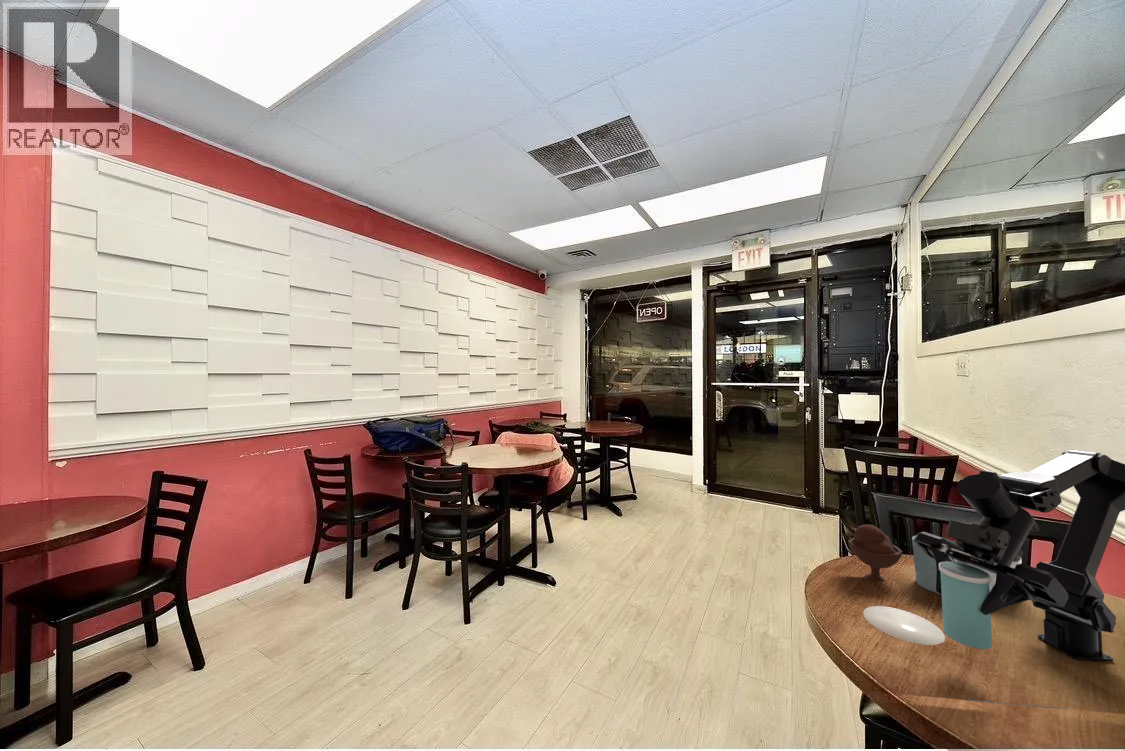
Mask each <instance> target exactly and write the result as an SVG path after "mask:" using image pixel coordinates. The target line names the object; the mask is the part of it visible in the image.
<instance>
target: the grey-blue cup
mask: <svg viewBox="0 0 1125 751" xmlns="http://www.w3.org/2000/svg"><path fill="white" fill-rule="evenodd" d="M915 537H916V535H913V536H912V537H911V541H912V542H911V543H912V549H913V565H914V570H915V573H916V575H915V582H916V584H917V585H918V586H920V587H922V588H924V589H926V590H927V591H930V592H932V593H936V594H938V593H937V592H936V575H937V567H936V560H935V559H932V558H931V557H929V556H927V555H926V553H925V552H924V551H923V550H922V549H921V548H920V547H919V546H918V545H917V544H916V543H915V541H914V539H915ZM944 539H945V540H946V541H947V542H948V543H949V545H950V546H951V547H952V548H955V549H958V550H961V551H963V548H962V547H959V546H958V545H957V543H956V541H954V540H951V539H948V538H944ZM957 563H962V564H966V565H968V564H967V563H964V562H961V561H959V560H958V561H957Z"/></svg>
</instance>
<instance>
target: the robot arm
mask: <svg viewBox="0 0 1125 751" xmlns="http://www.w3.org/2000/svg"><path fill="white" fill-rule="evenodd" d="M956 488H957V491H958V493H960V495H961V496H962V498H964V500H966V502H967V503H968V504H969V505H970V506H971V508H972V509H973V510H974V511H975V512H976V514H977V513H978V515H979V516H982V518H981V519H980V521H979V523H978V524H976V523H972V524H968V523H965V522H962V521H958V520H954V519H949V522H948V526H947V530H946V532H945V533H946V534H945V537H948V538H952V539H955V540H956V541H955V542H956V543H957V545H958V546H959V547H962V548H963V551H961V550H958V549H955V548H952V547H951V546H950V545H949V543H948V542H947V541H946V540H945V539H946V538H944V537H941V536H939V535H935V534H932V533H929V532H927V531H921V532H918V533H917V534H916V535H915V536H916V537H915V539H914V541H915V543H916V544H917V545H918V546H919V547H920V548H921V549H922V550H923V551H924V552H925V553H926V555H927V556H929V557H931V558H932V559H935V560H936V567H937V575H936V592H937V593H936V594H938V595H940V596H942V593H941V571H940V570H939V563H940V562H957V561H958V560H959V561H961V562H964V563H967V565H970V566H971V565H973V566H975V567H978V568H981V569H984V570H986V571H989V572H992V573H995V574H996V583H995V585H994V587H993V588H992V590H991V591H990V593H989V594H988V596H987V597H986V599H985V601H984V602H983V604H982V607H981V609H980V611H981V612H982V613H983V614H984V615H988V614H990V613H991V614H992V613H995V612H997V611H1000V610H1002V609H1004V608H1006V607H1010V606H1013V605H1015V604H1019V603H1024V602H1026V601H1027V602H1028V601H1030V602H1031V603H1032V605H1033V607H1034V608H1037V609H1038V608H1039V609H1041V610H1043V611H1044V618H1043V633H1037V637H1038V638H1039V639H1040V640H1042V641H1044V642H1045V643H1048V644H1049V645H1051V646H1052V647H1054V648H1056V649H1057V650H1059V651H1060V652H1061V653H1064V654H1066V655H1067V656H1068V657H1070V658H1072V659H1076V660H1087V661H1102V662H1114V658H1113V657H1111V656H1110V655H1108V654H1107V653H1105V652H1103V636H1102V632H1105V633H1106V632H1107V633H1111V634H1112V633H1114V631H1115V630H1114V629H1115V626H1116V625H1117V623H1116V620H1117V617H1116V615H1115V614H1114V613H1113V612H1112V610H1111V609H1110V608H1109V607H1108V606H1107V604H1106V603H1105V601H1104V599H1105V593H1104V591H1103V590H1102V587H1101V586H1100V584H1099V582H1098V581H1097V579H1096V576H1097V572H1098V570H1099V568H1100V564H1101V562H1102V560H1103V558H1104V554H1105V552H1106V549H1107V546H1108V544H1109V541H1110V538H1111V536H1112V534H1113V531H1114V527H1115V526H1116V523H1117V519H1118V517H1119V516H1120V513H1121V512H1123V511H1125V463H1122V462H1120V461H1117V460H1114V459H1112V458H1110V457H1109V456H1108V455H1106V454H1102V453H1100V452H1092V451H1083V450H1074V449H1070V450H1064V451H1062V453H1061V455H1060V456H1058V457H1056V458H1054V459H1052V460H1050V461H1048V462H1046V463H1045V464H1042V465H1040V466H1038V467H1037V468H1035V469H1034V468H1033V470H1030V471H1014V472H1012V471H1011V472H1008V473H1004V474H1001V475H1000V474H999V475H998V473H996V471H989V470H983V469H981V470H980V472H979V473H977V474H971V475H968V476H966V477H963V478H962V479H960V480H959V481H958V482H957V484H956ZM1070 488H1074V489H1075V491H1076V493H1077V494H1078V496H1079V498H1080V499H1079V501H1078V504H1077V505H1076V509H1075V511H1074V514H1073V517H1072V518H1071V522H1070V523H1069V526H1068V528H1067V532H1066V534H1065V536H1064V537H1063V541H1062V543H1061V546H1060V549H1059V551H1058V553H1057V556H1056V559H1055V560H1052V561H1051V562H1045V561H1039V562H1038V563H1037V564H1036V566H1035V567H1034V566H1031V565H1027V564H1025V563H1022V564H1017V565H1016V566H1015V568H1011V567H1010V566H1011V564H1012V562H1013V560H1014V559H1015V557H1016V556H1019V557H1021V558H1023V555H1024V554H1025V552H1024V550H1022V546H1023V545H1024V542H1025V540H1026V538H1027V537H1028V535H1029V534H1030V532H1031V531H1032V532H1036V533H1038V532H1039V531H1040V528H1039V527H1040V526H1039V525H1038V523H1037V522H1036V519H1035V518H1034V515H1032V514H1030V512H1029V511H1034V512H1038V513H1044V514H1048V513H1050V512H1052V511H1054V510H1055V509H1057V508H1058V507H1059V506H1060V504H1062V498H1061V494H1062V493H1063V492H1065V491H1068V490H1069V489H1070ZM1027 510H1029V511H1027Z"/></svg>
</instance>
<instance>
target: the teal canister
mask: <svg viewBox="0 0 1125 751" xmlns="http://www.w3.org/2000/svg"><path fill="white" fill-rule="evenodd" d="M939 570H940V571H941V593H942V595H941V610H942V630H943V631H942V632H943V633H944V635H946V636H947V637H948V638H950V639H951V640H953V641H954V642H957V643H959V644H961V645H964V646H966V647H969V648H972V649H979V650H990V649H991V648H992V647H993V635H992V616H991V614H992V613H990V614H988V615H984V614H983V613H982V612H981V611H980V609H981V607H982V604H983V602H984V601H985V599H986V597H987V596H988V594H989V593H990V591H989V583H990V582H991V577H990V575H989V574H988V573H987V572H985V571H983V570H981V569H979V568H976V567H973V566H971V565H970V564H967V565H966V564H962V563H957V562H940V563H939Z"/></svg>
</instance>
